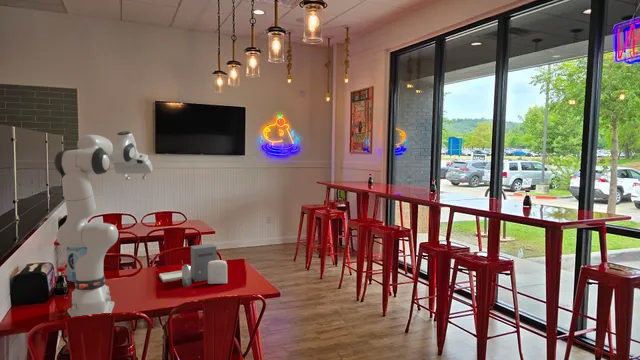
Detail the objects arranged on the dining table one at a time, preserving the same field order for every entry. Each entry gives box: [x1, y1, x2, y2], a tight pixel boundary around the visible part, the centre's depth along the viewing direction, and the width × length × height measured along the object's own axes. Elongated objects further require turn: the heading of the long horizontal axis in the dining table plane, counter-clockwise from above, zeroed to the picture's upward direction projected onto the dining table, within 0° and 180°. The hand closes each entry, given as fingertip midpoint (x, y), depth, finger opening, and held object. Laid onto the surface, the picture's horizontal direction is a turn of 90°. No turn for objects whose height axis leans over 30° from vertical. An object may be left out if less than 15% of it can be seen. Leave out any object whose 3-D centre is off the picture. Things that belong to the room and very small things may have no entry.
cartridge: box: [181, 264, 192, 287], centre depth 227 cm, size 5×5×11 cm
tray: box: [158, 270, 182, 283], centre depth 241 cm, size 12×14×2 cm
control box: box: [190, 243, 218, 283], centre depth 239 cm, size 9×12×18 cm
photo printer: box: [207, 259, 228, 285], centre depth 230 cm, size 10×4×12 cm, turn 98°
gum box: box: [65, 246, 87, 283], centre depth 233 cm, size 20×5×23 cm, turn 66°
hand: (136, 179), depth 247 cm, fingers open, 8 cm apart
